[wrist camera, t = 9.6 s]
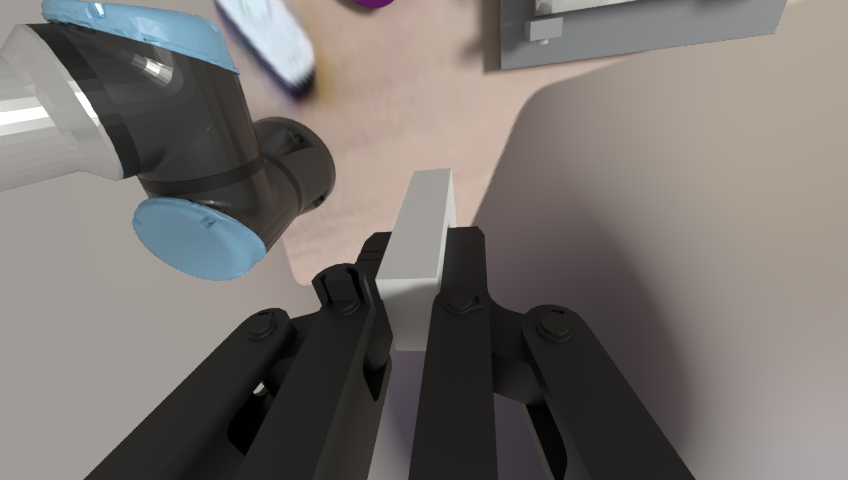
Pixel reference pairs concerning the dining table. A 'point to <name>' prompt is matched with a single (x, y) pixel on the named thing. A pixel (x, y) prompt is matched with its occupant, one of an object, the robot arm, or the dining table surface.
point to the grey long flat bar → (568, 5)
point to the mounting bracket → (374, 3)
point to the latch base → (626, 28)
